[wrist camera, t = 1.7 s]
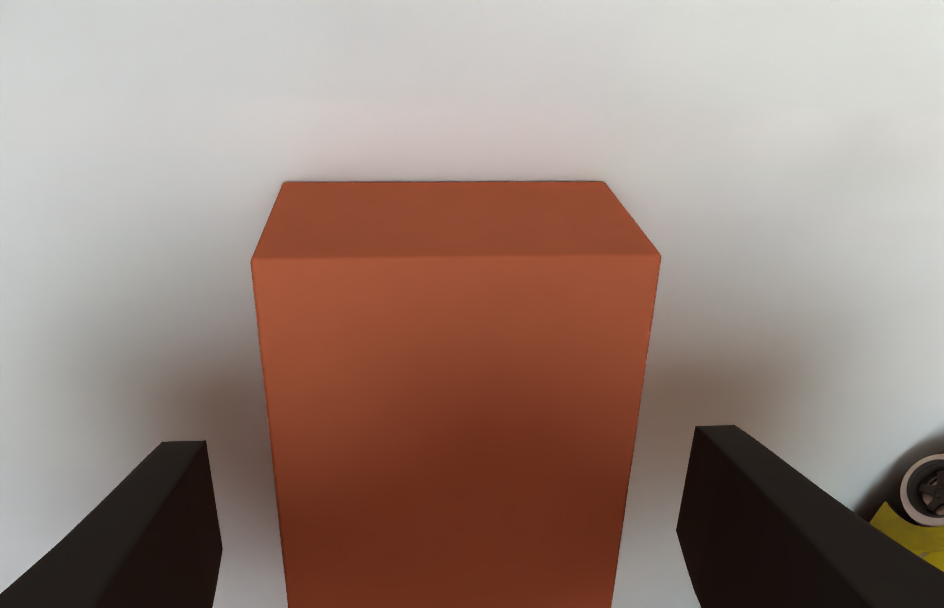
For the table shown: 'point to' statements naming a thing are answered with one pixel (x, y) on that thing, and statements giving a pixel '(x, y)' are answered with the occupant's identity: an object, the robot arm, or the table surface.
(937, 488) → the toy car
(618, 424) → the pad
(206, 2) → the table surface
